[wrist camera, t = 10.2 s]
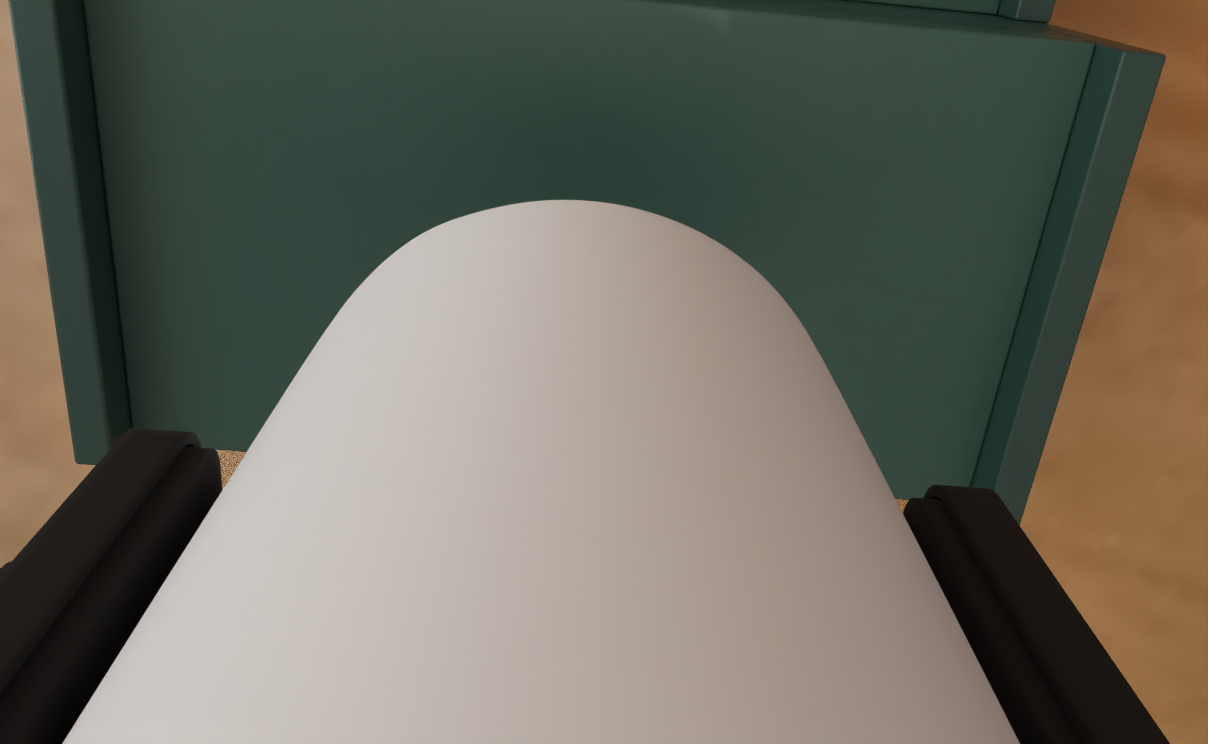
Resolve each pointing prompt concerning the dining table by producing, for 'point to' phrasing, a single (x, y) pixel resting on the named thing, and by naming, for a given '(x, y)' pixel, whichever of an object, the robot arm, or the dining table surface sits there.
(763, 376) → the can
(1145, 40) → the dining table surface
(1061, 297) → the step rack
